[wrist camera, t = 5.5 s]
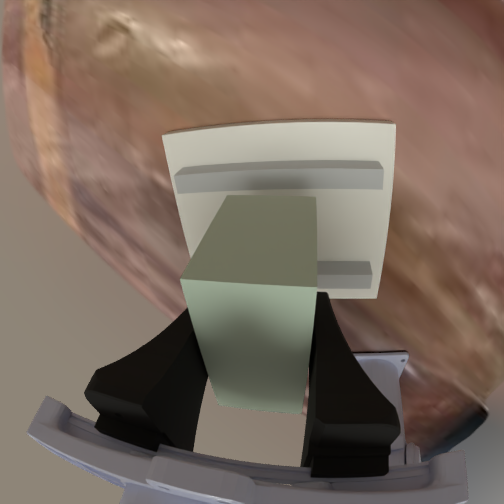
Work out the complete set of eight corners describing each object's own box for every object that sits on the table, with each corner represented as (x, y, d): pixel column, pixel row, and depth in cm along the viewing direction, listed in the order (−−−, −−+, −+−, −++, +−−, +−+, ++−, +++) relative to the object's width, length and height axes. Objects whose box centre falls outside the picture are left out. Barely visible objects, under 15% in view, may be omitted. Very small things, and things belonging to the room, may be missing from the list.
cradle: (374, 289, 23) (379, 312, 21) (203, 286, 26) (195, 307, 24) (391, 121, 16) (403, 129, 14) (168, 131, 18) (151, 141, 16)
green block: (308, 323, 18) (301, 413, 13) (242, 318, 18) (218, 405, 14) (316, 196, 13) (316, 287, 8) (227, 195, 14) (179, 279, 9)
